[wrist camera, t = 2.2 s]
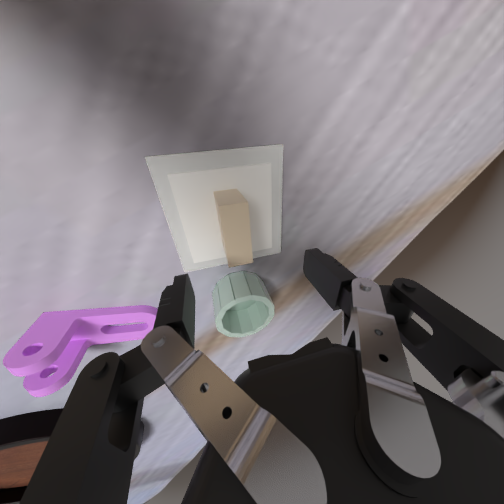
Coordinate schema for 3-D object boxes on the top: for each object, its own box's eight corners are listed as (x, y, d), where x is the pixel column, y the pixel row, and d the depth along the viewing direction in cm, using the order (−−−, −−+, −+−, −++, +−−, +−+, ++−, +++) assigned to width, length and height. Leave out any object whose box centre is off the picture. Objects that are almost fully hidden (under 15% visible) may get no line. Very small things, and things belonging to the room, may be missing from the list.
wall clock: (-137, 464, 22) (151, 421, 35) (-93, 421, 25) (155, 397, 38) (-63, 525, 34) (130, 476, 47) (-40, 491, 37) (134, 454, 50)
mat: (147, 156, 16) (144, 157, 16) (279, 144, 19) (283, 144, 18) (185, 268, 23) (184, 272, 23) (278, 249, 26) (280, 252, 25)
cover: (167, 173, 17) (157, 185, 12) (269, 162, 18) (293, 169, 14) (193, 260, 22) (193, 291, 17) (270, 245, 24) (288, 270, 19)
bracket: (60, 339, 24) (19, 400, 19) (44, 311, 22) (-10, 372, 16) (165, 328, 28) (157, 375, 23) (162, 303, 26) (153, 349, 20)
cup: (208, 278, 25) (210, 305, 21) (262, 266, 27) (274, 289, 23) (217, 315, 30) (221, 343, 25) (263, 303, 31) (274, 327, 27)
